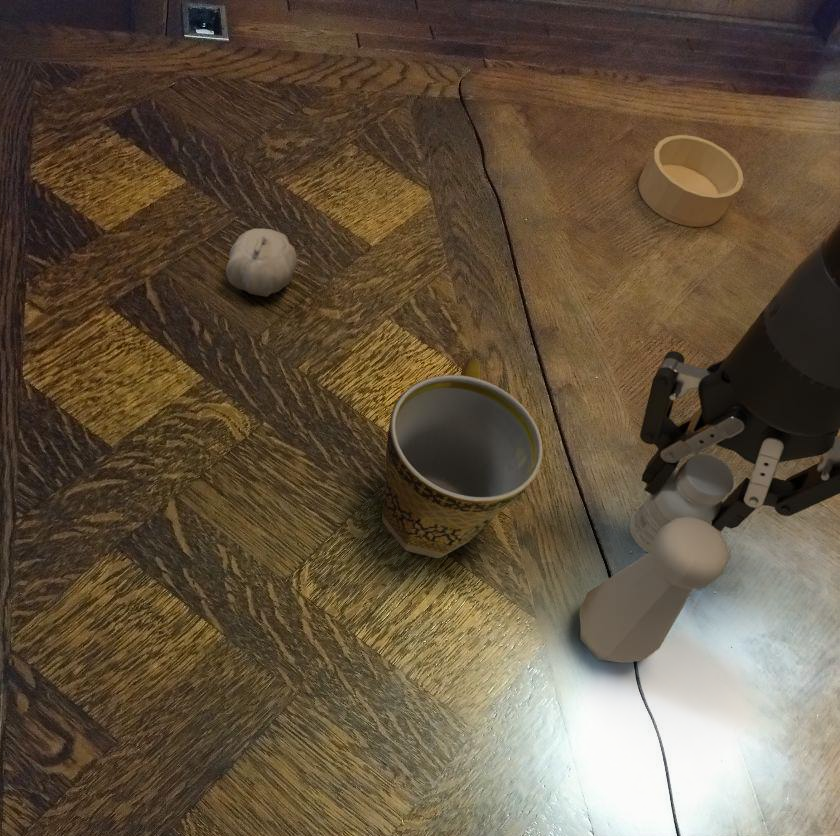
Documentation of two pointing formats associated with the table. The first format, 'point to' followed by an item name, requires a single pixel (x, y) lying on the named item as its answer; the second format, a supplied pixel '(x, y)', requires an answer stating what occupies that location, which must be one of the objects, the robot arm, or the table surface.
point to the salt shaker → (652, 591)
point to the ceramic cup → (455, 460)
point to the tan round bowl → (690, 180)
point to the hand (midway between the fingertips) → (685, 501)
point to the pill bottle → (683, 497)
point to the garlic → (261, 262)
